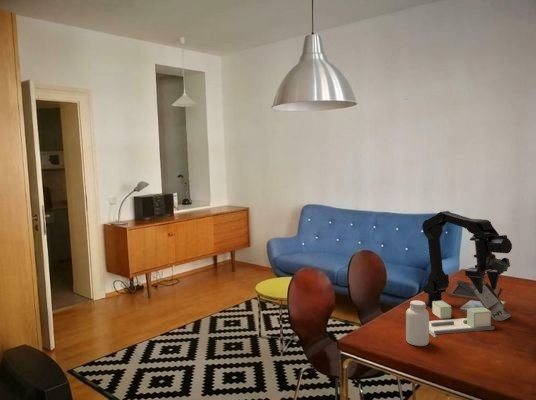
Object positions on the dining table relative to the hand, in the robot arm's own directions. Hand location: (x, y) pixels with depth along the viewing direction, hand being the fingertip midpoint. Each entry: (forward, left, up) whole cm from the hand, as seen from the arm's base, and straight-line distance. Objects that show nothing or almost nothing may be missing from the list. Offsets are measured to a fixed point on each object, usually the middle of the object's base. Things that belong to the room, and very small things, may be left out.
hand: (487, 291), depth 166 cm
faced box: (+3, -5, -13) cm, 14 cm away
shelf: (0, -13, -14) cm, 19 cm away
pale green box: (-11, -13, -14) cm, 22 cm away
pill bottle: (+8, -33, -14) cm, 37 cm away
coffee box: (-5, +9, -13) cm, 16 cm away
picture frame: (-39, +20, -15) cm, 46 cm away
